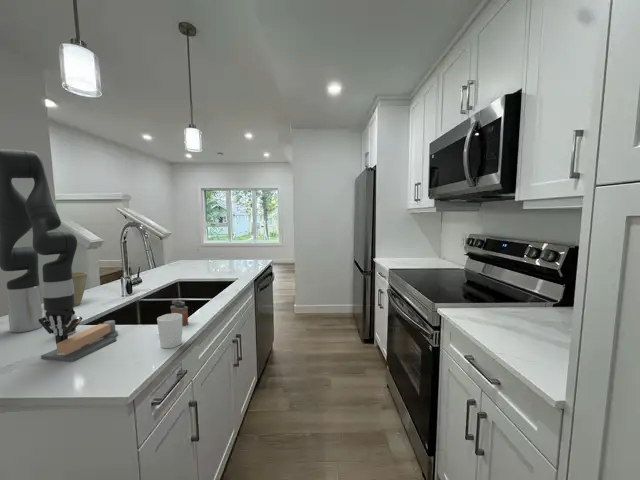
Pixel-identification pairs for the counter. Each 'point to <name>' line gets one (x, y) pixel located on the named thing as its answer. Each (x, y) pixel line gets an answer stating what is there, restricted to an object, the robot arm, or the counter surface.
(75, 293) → the plant pot
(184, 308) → the lighter
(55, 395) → the counter surface
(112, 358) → the counter surface
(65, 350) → the swing bar
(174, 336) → the white cup
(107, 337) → the gray base panel
